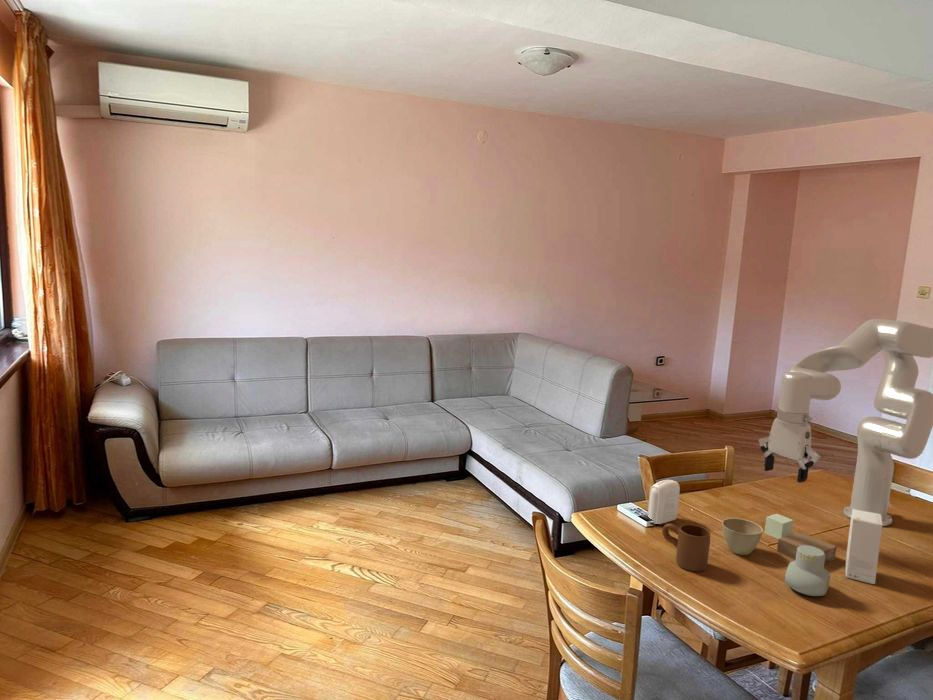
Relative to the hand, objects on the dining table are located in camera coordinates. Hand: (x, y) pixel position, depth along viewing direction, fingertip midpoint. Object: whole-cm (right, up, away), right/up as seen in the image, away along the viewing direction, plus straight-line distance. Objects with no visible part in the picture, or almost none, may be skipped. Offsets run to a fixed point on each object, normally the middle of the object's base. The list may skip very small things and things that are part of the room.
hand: (784, 475), depth 174 cm
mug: (-34, -19, -15) cm, 42 cm away
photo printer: (-32, -15, +10) cm, 36 cm away
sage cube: (0, -18, +3) cm, 18 cm away
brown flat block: (+1, -20, -9) cm, 22 cm away
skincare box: (+9, -21, -18) cm, 30 cm away
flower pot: (-16, -19, -8) cm, 26 cm away
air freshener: (-8, -22, -26) cm, 35 cm away
